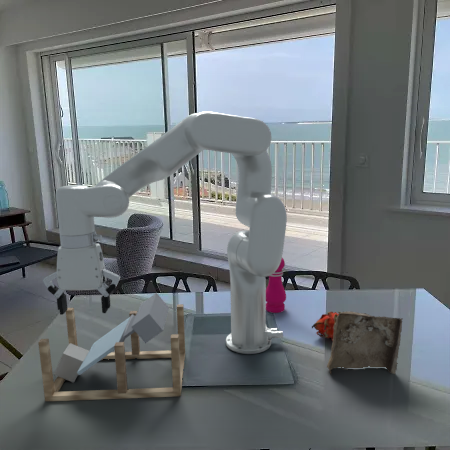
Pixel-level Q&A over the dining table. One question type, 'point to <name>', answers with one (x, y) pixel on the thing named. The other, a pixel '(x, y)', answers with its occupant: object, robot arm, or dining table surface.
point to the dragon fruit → (326, 325)
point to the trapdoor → (130, 330)
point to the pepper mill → (276, 291)
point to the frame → (117, 366)
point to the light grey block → (71, 362)
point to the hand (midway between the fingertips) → (84, 311)
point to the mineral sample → (365, 341)
